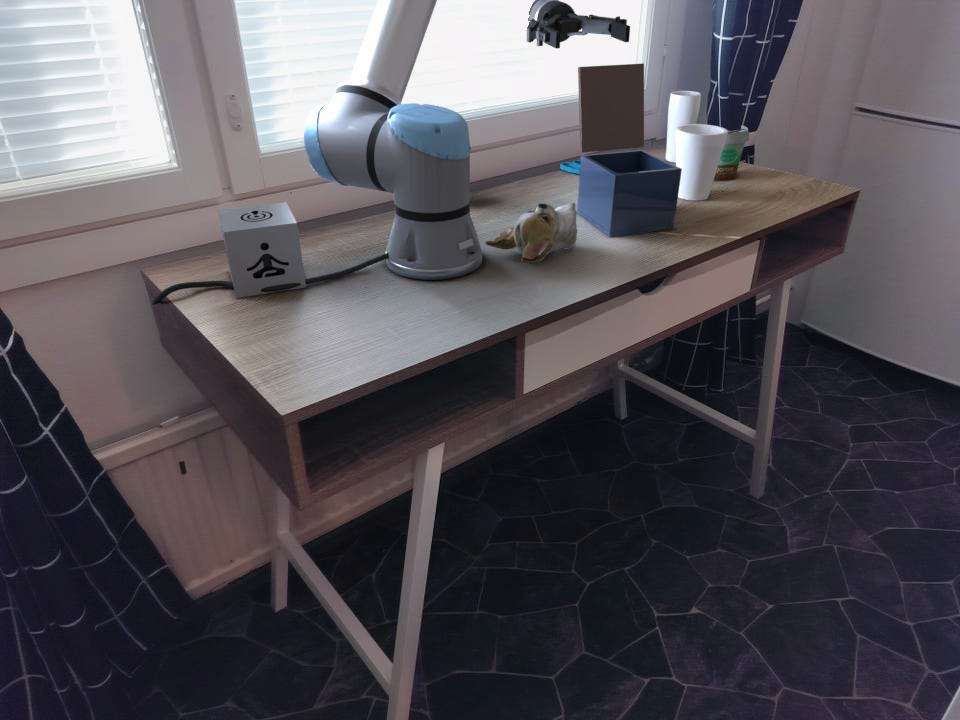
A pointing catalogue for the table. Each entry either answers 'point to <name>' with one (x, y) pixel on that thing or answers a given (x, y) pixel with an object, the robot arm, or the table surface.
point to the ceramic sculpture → (540, 232)
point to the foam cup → (698, 158)
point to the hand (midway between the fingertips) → (593, 37)
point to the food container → (731, 154)
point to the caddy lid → (611, 107)
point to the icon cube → (262, 248)
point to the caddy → (628, 192)
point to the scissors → (573, 164)
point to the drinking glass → (680, 117)
